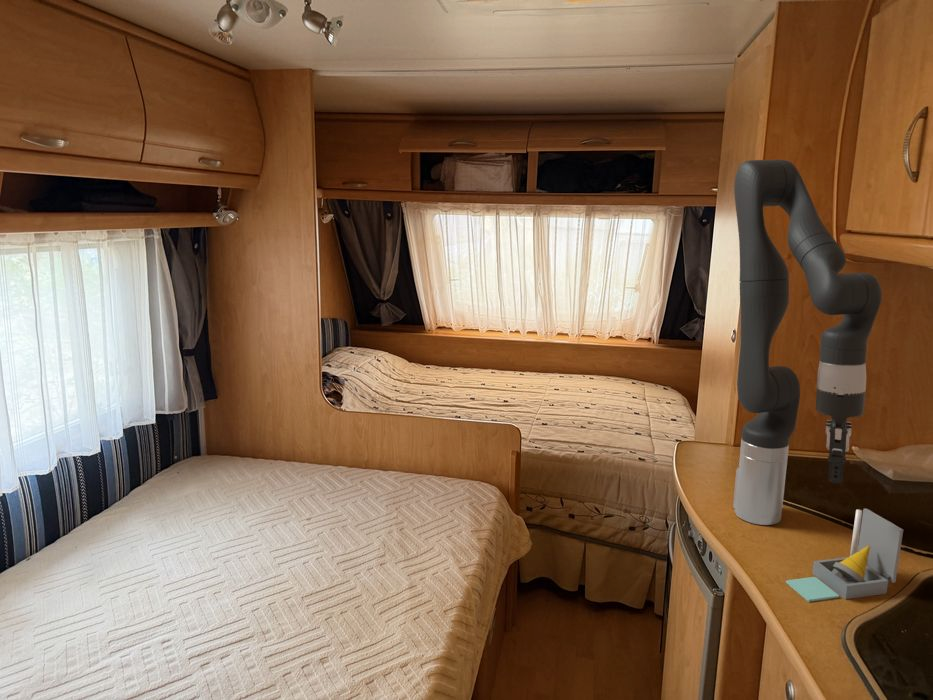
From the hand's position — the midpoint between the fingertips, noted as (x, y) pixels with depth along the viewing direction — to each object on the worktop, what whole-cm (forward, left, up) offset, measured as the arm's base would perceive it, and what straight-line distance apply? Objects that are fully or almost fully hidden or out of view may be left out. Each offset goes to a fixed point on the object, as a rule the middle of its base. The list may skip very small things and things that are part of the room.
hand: (835, 474), depth 119 cm
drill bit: (+5, 0, -19) cm, 20 cm away
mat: (+6, -7, -19) cm, 21 cm away
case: (+4, +2, -19) cm, 19 cm away
